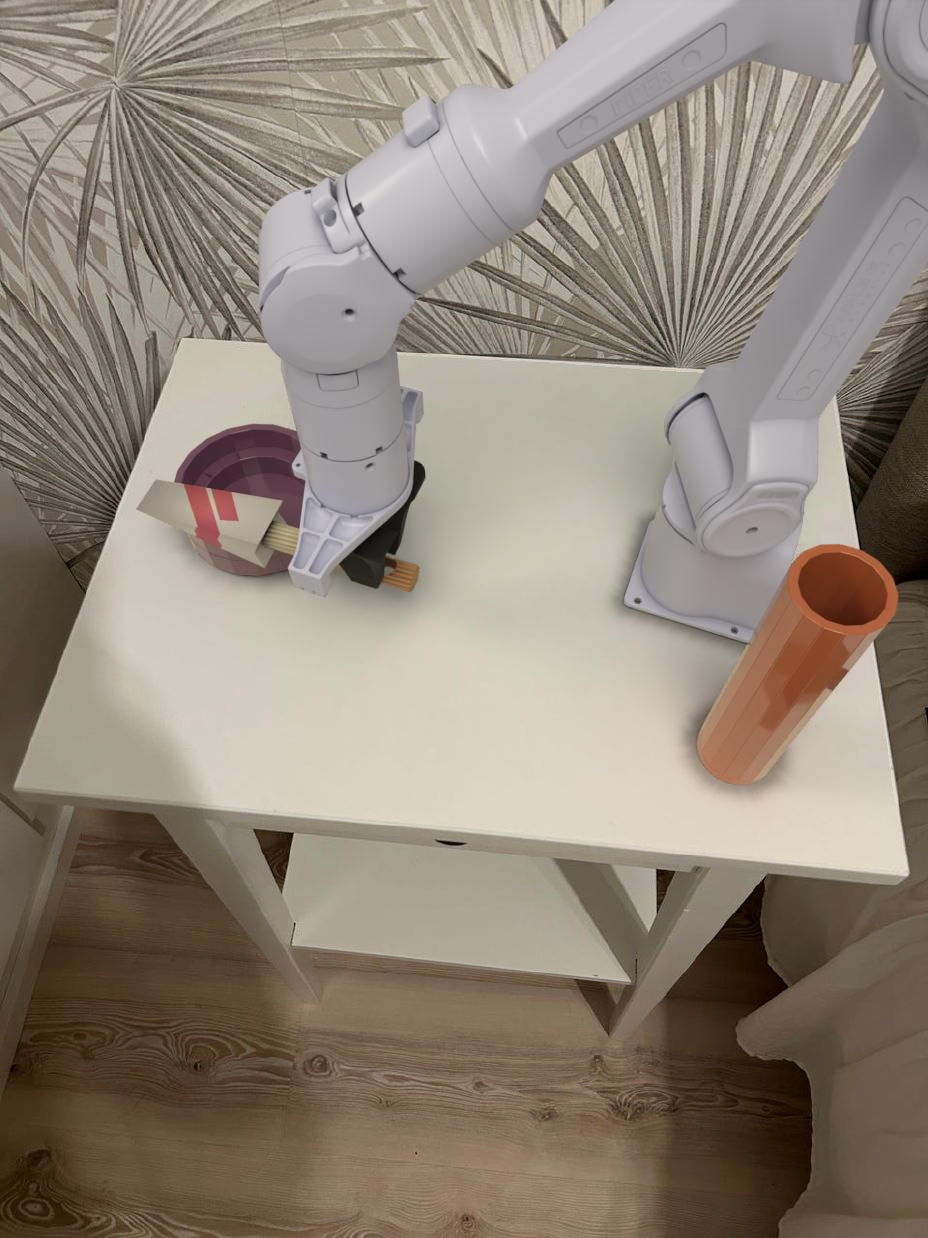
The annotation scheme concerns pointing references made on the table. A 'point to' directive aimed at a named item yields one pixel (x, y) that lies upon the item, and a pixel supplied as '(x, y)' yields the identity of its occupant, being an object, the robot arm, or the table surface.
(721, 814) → the table surface
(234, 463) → the bowl
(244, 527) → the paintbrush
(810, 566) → the vase
